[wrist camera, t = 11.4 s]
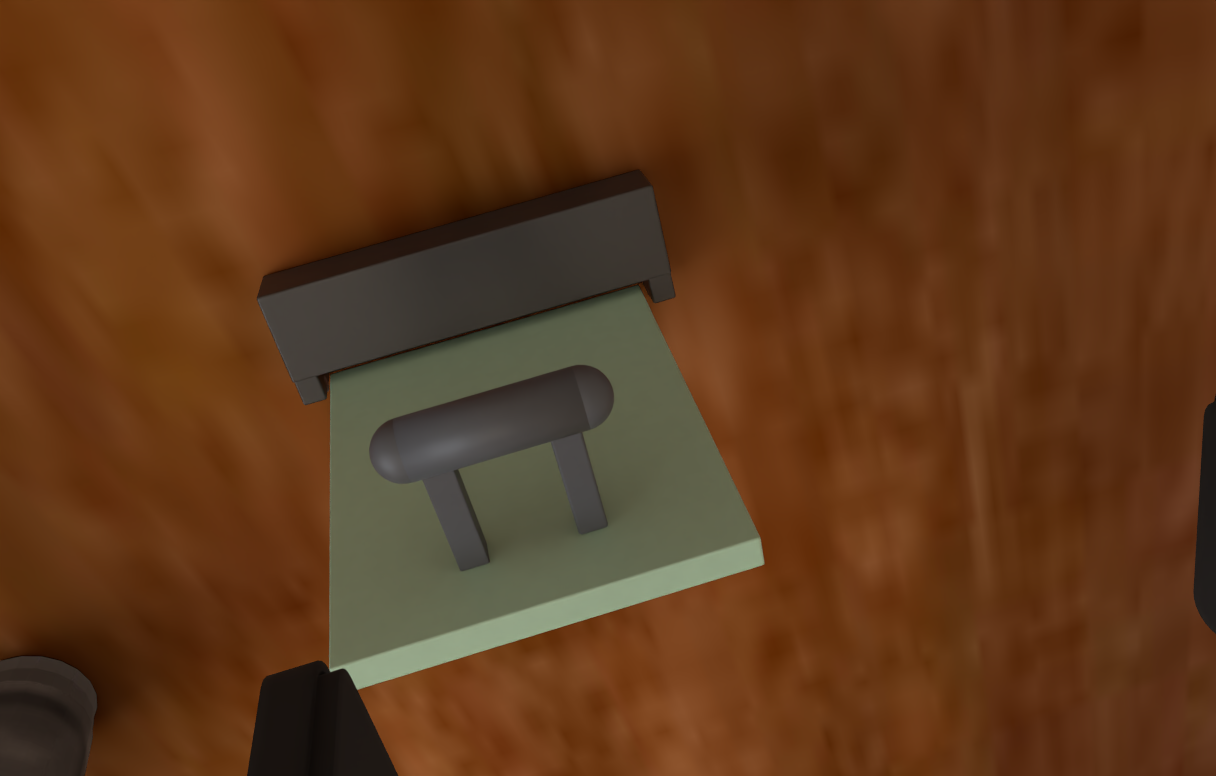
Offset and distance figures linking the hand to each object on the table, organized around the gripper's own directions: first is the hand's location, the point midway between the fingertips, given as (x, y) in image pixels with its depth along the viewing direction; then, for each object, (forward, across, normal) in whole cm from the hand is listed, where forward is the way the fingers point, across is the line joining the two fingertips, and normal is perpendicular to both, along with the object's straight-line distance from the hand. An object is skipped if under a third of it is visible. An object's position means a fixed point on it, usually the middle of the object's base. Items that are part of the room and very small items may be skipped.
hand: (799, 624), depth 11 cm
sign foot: (+26, +3, +5) cm, 27 cm away
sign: (+19, +3, +9) cm, 21 cm away
